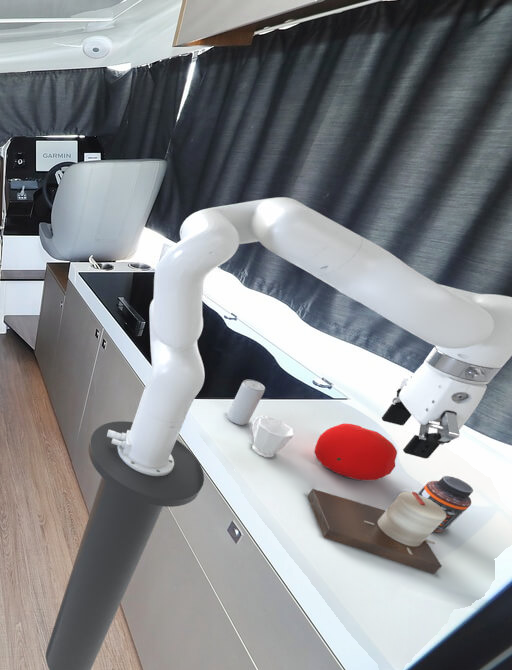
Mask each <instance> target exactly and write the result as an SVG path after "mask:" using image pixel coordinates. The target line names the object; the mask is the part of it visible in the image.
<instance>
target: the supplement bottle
mask: <svg viewBox="0 0 512 670" xmlns="http://www.w3.org/2000/svg"><path fill="white" fill-rule="evenodd" d="M473 492H474V489H473V487H472V486H471V485H470V484H468V483H467V482H465V481H464V480H461V479H460V478H457V477H454V476H450V475H443V476H442V477H441V478H440V479H439V480H431V481H429V482H427V483H426V484H425V485H424V486H423V487H422V488H421V489H420V491H418V492H417V494H418V495H421V496H423V497H426V498H428V499H429V500H431V501H433V502H434V503H436V504H437V505H439V506H440V507H441V508H442V509H443V510H444V511H445V513H446V518H445V519H444V520H443V521H442V523H441V524H440V525H439V526H438V527H437V528H436V529H435V530H434V531H433V532H435V533H442V532H445V531H447V529H448V528H450V526H452V524H453V523H455V521H456V520H458V519H459V518H460V516H462V515H463V514H464V513H465V512H466V511H467V510H468V509H469V508H470V507H471V505H472V499H471V497H470V496H471V494H473Z"/></svg>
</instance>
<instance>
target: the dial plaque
mask: <svg viewBox="0 0 512 670" xmlns="http://www.w3.org/2000/svg"><path fill="white" fill-rule="evenodd" d="M307 498H308V499H307V500H308V502H309V504H310V507H311V510H312V511H313V514H314V517H315V519H316V522H317V524H318V527H319V530H320V532H321V535H322V537H323V538H324V539H327V540H330V541H333V542H336V543H339V544H342V545H345V546H347V547H348V546H349V547H351V548H354V549H357V550H360V551H362V552H366V553H369V554H372V555H375V556H377V557H378V556H379V557H381V558H384V559H387V560H390V561H393V562H397V563H399V564H402V565H405V566H408V567H411V568H414V569H416V570H420V571H423V572H426V573H429V574H433V575H434V574H436V573H437V571H439V570H440V569H441V568H442V566H443V565H442V564H441V562H440V561H439V559H438V558H437V556H436V554H435V553H434V551H433V550H432V548H431V546H430V545H429V544H432V545H436V543H435V541H432V540H428V539H425V540H424V541H423V543H422V544H421V545H420V546H415V547H414V546H408V545H405V544H402V543H400V542H398V541H396V540H394V539H392V538H391V537H389V536H388V535H387V534H385V533H384V532H383V531H382V530H381V529H380V527H379V526H378V520H379V519H380V517H381V516H382V515H383V514H384V513H385V511H386V510H387V509H386V510H385V509H382V508H379V507H376V506H372V505H370V504H365V503H362V502H359V501H355V500H352V499H348V498H345V497H342V496H338V495H335V494H332V493H328V492H325V491H321V490H319V489H315V488H312V489H311V490H310V492H309V493H308V495H307Z"/></svg>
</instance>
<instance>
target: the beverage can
mask: <svg viewBox="0 0 512 670" xmlns="http://www.w3.org/2000/svg"><path fill="white" fill-rule="evenodd" d="M265 391H266V387H265V385H264V384H262V383H261V382H259V381H257V380H254V379H244V380H243V381H242V382H241V384H240V386H239V389H238V390H237V393H236V395H235V396H234V399H233V401H232V403H231V405H230V407H229V410H228V412H227V415H226V416H227V419H228V420H229V421H230V422H232V423H233V424H236V425H238V426H245V425H247V424H248V423H250V420H251V419H252V416H253V414H254V412H255V411H256V408H257V407H258V405H259V403H260V401H261V399H262V397H263V396H264V393H265Z"/></svg>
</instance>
